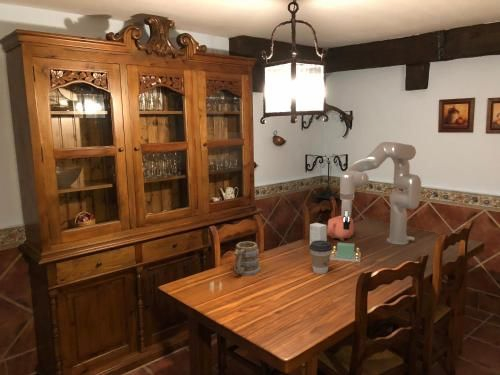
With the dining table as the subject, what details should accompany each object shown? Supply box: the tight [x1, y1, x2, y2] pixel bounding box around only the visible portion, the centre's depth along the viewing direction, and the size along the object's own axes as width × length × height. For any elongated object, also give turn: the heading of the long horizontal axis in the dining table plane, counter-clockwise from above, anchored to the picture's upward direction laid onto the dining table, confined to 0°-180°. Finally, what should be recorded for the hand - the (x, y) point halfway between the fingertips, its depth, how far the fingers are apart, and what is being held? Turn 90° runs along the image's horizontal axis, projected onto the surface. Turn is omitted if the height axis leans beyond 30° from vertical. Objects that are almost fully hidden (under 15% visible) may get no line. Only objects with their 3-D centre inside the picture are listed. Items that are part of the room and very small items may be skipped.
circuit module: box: [336, 242, 356, 257], centre depth 231 cm, size 9×5×6 cm, turn 73°
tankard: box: [233, 240, 261, 276], centre depth 211 cm, size 20×13×15 cm, turn 154°
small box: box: [309, 222, 328, 246], centre depth 251 cm, size 8×6×13 cm
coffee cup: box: [308, 240, 333, 275], centre depth 211 cm, size 11×11×15 cm
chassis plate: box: [329, 245, 362, 263], centre depth 232 cm, size 16×12×4 cm
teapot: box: [327, 215, 355, 242], centre depth 265 cm, size 22×13×14 cm, turn 135°
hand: (346, 226), depth 229 cm, fingers open, 9 cm apart
